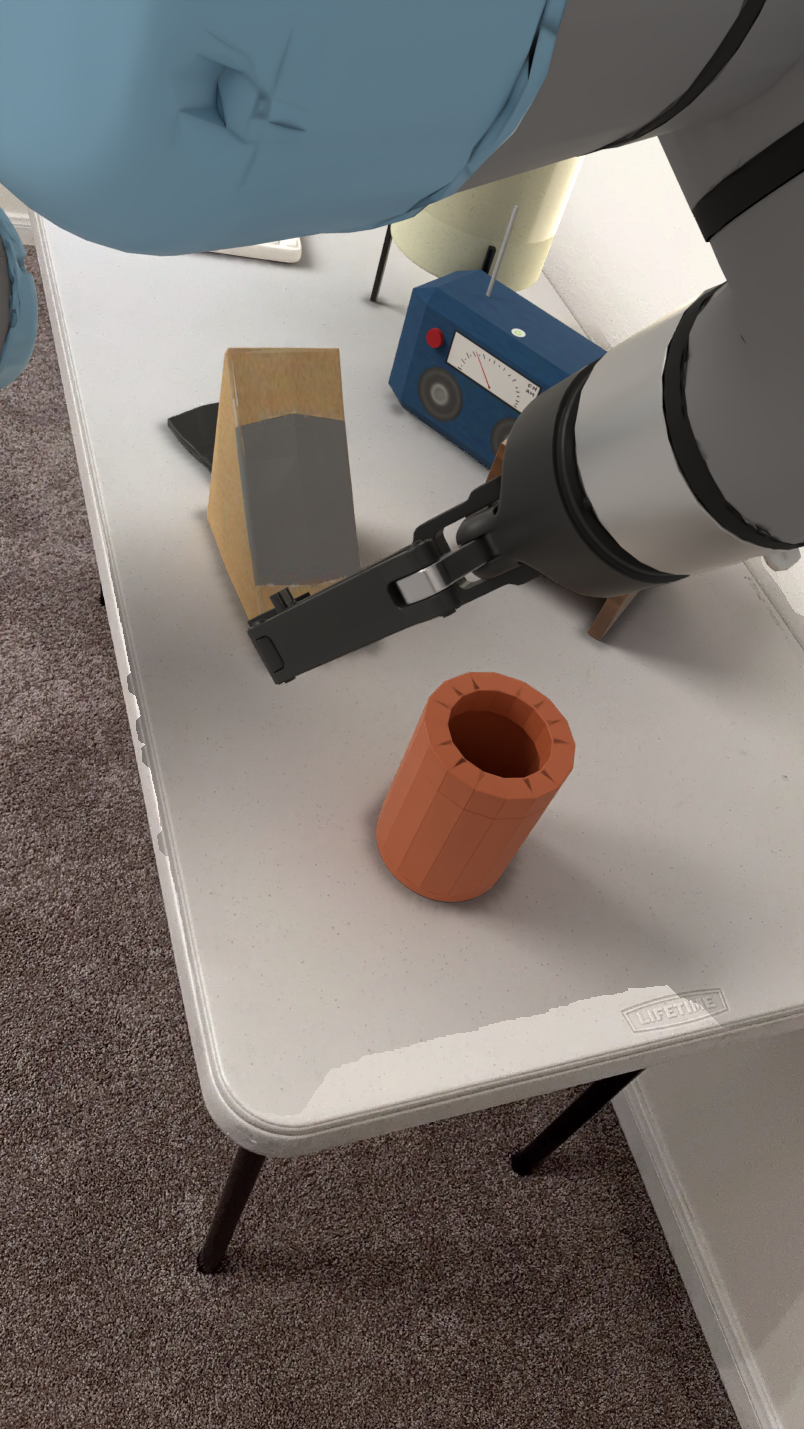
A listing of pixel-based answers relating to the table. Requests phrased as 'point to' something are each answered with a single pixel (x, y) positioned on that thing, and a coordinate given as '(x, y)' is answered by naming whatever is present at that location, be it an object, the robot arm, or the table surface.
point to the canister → (472, 784)
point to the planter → (488, 227)
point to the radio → (480, 357)
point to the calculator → (270, 251)
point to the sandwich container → (282, 474)
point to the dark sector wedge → (197, 431)
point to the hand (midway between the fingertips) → (377, 581)
